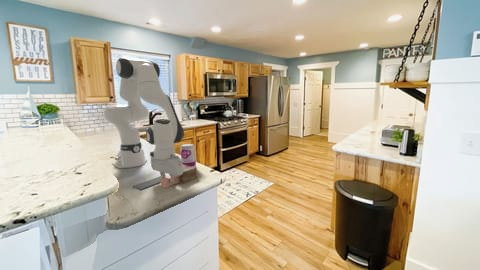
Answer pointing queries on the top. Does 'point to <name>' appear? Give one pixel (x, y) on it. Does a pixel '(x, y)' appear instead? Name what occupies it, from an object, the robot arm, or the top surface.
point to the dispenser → (188, 173)
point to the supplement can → (188, 154)
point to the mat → (148, 183)
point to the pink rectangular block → (168, 181)
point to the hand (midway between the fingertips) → (168, 181)
